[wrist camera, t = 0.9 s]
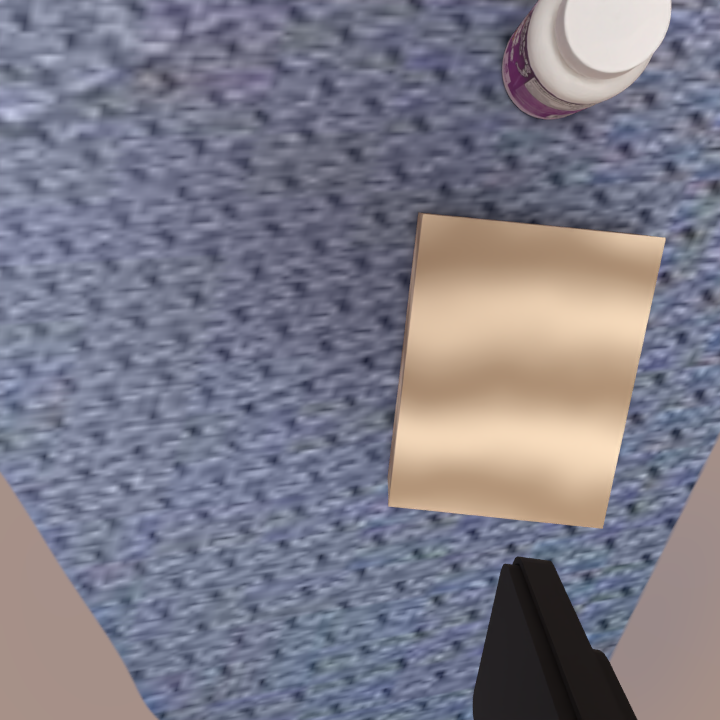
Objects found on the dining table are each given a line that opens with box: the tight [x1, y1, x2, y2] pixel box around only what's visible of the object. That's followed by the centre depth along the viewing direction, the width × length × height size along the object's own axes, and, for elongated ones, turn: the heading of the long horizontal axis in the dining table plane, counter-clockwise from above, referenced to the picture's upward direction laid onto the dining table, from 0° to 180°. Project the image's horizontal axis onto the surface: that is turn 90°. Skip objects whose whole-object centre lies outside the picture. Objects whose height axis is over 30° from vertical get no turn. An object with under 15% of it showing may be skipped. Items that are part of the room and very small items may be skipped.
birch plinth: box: [388, 213, 666, 528], centre depth 34 cm, size 16×12×4 cm
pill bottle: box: [502, 0, 671, 119], centre depth 28 cm, size 5×5×10 cm
